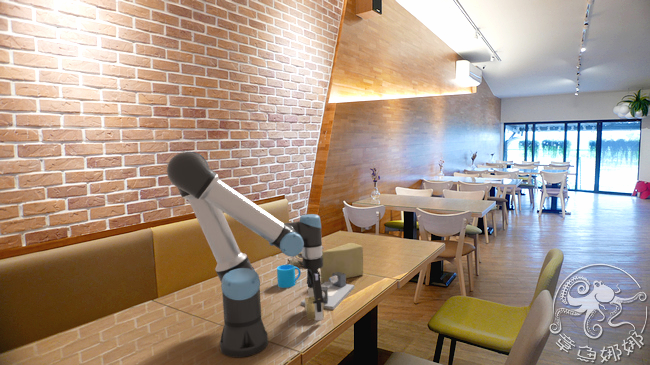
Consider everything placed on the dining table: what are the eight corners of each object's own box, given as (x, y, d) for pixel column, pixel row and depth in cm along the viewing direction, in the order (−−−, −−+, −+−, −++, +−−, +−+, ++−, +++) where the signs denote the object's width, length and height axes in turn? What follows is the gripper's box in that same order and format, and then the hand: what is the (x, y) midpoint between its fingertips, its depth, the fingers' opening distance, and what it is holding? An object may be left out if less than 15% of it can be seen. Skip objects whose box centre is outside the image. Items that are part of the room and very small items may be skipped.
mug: (283, 289, 168) (283, 271, 167) (274, 284, 174) (273, 267, 173) (305, 282, 175) (305, 265, 174) (295, 278, 181) (295, 261, 181)
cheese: (328, 286, 169) (327, 254, 167) (315, 281, 177) (314, 249, 175) (364, 275, 182) (363, 244, 181) (351, 270, 190) (350, 241, 188)
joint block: (323, 317, 138) (323, 302, 138) (307, 319, 137) (306, 304, 137) (320, 311, 144) (320, 295, 144) (305, 312, 143) (304, 297, 142)
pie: (317, 252, 226) (317, 244, 225) (347, 263, 204) (347, 254, 204) (277, 262, 209) (276, 253, 208) (305, 275, 187) (304, 265, 187)
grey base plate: (333, 309, 144) (333, 306, 144) (301, 304, 150) (301, 301, 150) (354, 287, 166) (354, 284, 166) (325, 284, 172) (325, 281, 172)
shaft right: (338, 282, 170) (337, 271, 169) (346, 285, 166) (345, 273, 166) (327, 287, 165) (327, 275, 164) (335, 289, 161) (335, 278, 161)
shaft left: (327, 303, 148) (327, 290, 147) (315, 303, 148) (315, 290, 148) (328, 296, 155) (328, 284, 154) (317, 296, 155) (316, 284, 155)
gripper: (329, 265, 127) (333, 325, 129) (316, 247, 152) (319, 297, 153) (307, 268, 125) (311, 328, 127) (297, 248, 150) (301, 299, 152)
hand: (315, 312), depth 140 cm, fingers open, 13 cm apart
